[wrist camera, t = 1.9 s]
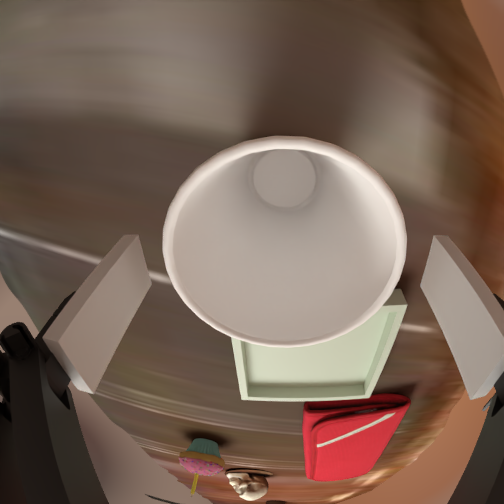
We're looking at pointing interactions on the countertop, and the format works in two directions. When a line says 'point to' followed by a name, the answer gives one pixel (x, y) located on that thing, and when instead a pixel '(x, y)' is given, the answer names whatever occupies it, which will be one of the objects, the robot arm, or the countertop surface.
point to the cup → (284, 241)
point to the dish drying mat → (349, 434)
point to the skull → (249, 483)
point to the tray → (322, 362)
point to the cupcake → (202, 459)
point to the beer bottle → (275, 502)
